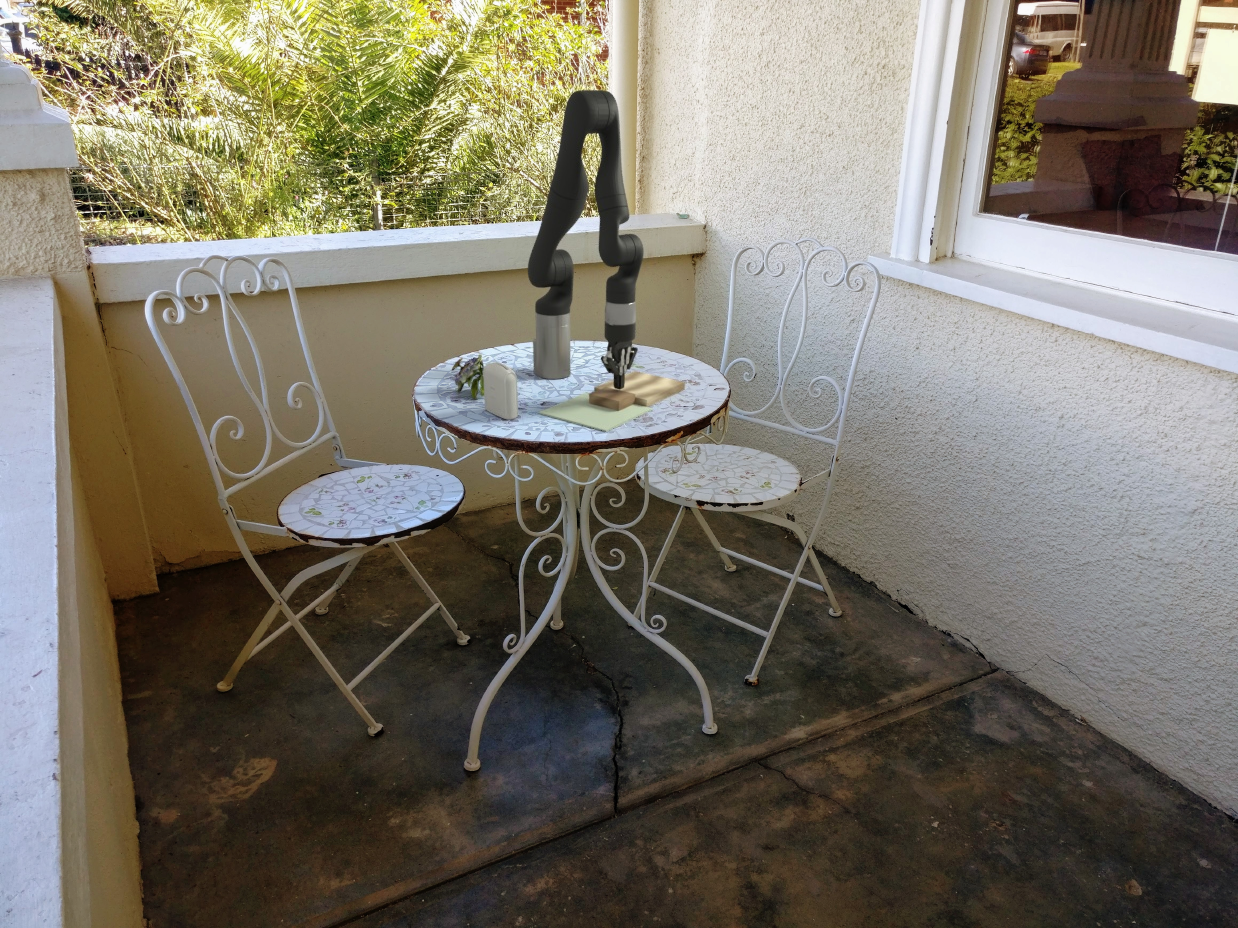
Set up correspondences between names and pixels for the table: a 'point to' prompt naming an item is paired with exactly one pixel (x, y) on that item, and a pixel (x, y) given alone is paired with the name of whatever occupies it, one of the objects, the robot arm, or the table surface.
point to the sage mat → (593, 413)
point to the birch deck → (647, 387)
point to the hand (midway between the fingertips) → (618, 388)
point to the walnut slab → (612, 398)
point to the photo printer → (500, 390)
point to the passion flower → (470, 375)
